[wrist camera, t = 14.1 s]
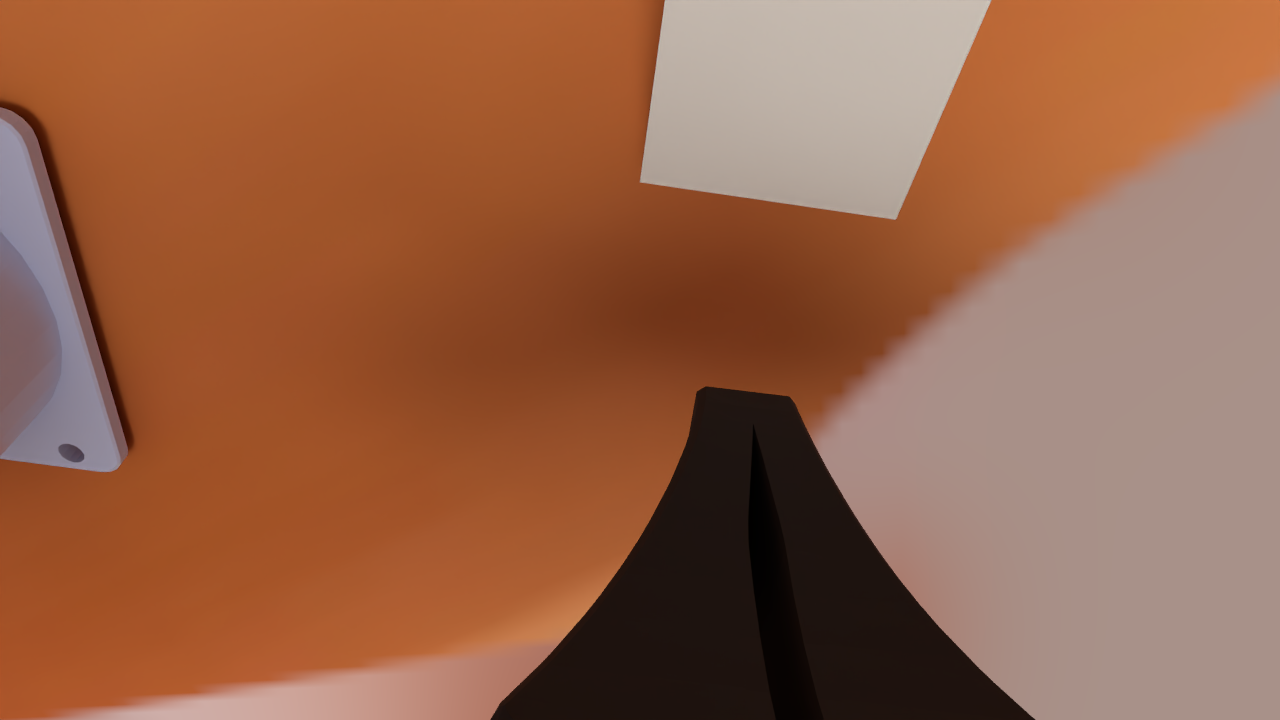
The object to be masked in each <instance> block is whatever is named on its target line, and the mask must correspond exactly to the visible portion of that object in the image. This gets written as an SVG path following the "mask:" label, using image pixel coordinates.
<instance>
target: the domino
mask: <svg viewBox="0 0 1280 720" xmlns="http://www.w3.org/2000/svg"><path fill="white" fill-rule="evenodd" d="M990 2H991V0H665V4H664V11H663V18H662V26H661V33H660V40H659V47H658V55H657V62H656V69H655V76H654V84H653V91H652V98H651V105H650V113H649V120H648V127H647V134H646V142H645V149H644V156H643V163H642V171H641V178H640V182H641V183H648V184H655V185H662V186H669V187H676V188H682V189H689V190H696V191H703V192H710V193H717V194H723V195H730V196H737V197H744V198H751V199H758V200H764V201H771V202H778V203H785V204H792V205H799V206H805V207H812V208H819V209H826V210H833V211H840V212H847V213H853V214H860V215H867V216H874V217H881V218H888V219H894V220H896V218H897V216H898V214H899V211H900V209H901V207H902V204H903V202H904V200H905V197H906V195H907V193H908V191H909V188H910V186H911V184H912V181H913V179H914V177H915V174H916V172H917V170H918V168H919V165H920V163H921V161H922V158H923V156H924V154H925V151H926V149H927V147H928V145H929V142H930V140H931V138H932V135H933V133H934V131H935V128H936V126H937V124H938V122H939V119H940V117H941V115H942V112H943V110H944V108H945V106H946V103H947V101H948V99H949V96H950V94H951V92H952V89H953V87H954V85H955V83H956V80H957V78H958V76H959V73H960V71H961V69H962V66H963V64H964V62H965V60H966V57H967V55H968V53H969V50H970V48H971V46H972V43H973V41H974V39H975V37H976V34H977V32H978V30H979V27H980V25H981V23H982V20H983V18H984V16H985V14H986V11H987V9H988V7H989V4H990Z"/></svg>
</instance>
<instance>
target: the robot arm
mask: <svg viewBox="0 0 1280 720" xmlns="http://www.w3.org/2000/svg"><path fill="white" fill-rule="evenodd" d="M127 455H128V447H127V444H126V440H125V437H124V433H123V430H122V427H121V423H120V420H119V416H118V413H117V410H116V406H115V403H114V399H113V396H112V392H111V389H110V386H109V382H108V379H107V375H106V372H105V369H104V365H103V362H102V358H101V355H100V351H99V348H98V345H97V341H96V338H95V334H94V331H93V327H92V324H91V321H90V317H89V314H88V310H87V307H86V304H85V300H84V297H83V293H82V290H81V286H80V283H79V280H78V276H77V273H76V269H75V266H74V263H73V259H72V256H71V252H70V249H69V245H68V242H67V239H66V235H65V232H64V228H63V225H62V222H61V218H60V215H59V211H58V208H57V204H56V201H55V198H54V194H53V191H52V187H51V184H50V180H49V177H48V174H47V170H46V167H45V163H44V160H43V157H42V153H41V150H40V146H39V143H38V139H37V137H36V135H35V133H34V131H33V129H32V128H31V127H30V126H29V124H28V123H27V122H26V121H25V120H24V119H23V118H22V117H20V116H19V115H17V114H15V113H14V112H12V111H11V110H8V109H4V108H1V107H0V459H6V460H14V461H21V462H29V463H37V464H44V465H52V466H60V467H67V468H75V469H83V470H91V471H98V472H111V471H114V470H116V469H118V467H119V466H120V465H121V463H122V462H123V461H124V459H125V458H126V457H127ZM491 720H1035V719H1034V718H1033V717H1031V716H1030V715H1029V714H1028V713H1027V712H1026V711H1025V710H1024V709H1023V708H1021V707H1020V706H1019V705H1018V704H1017V703H1016V702H1015V701H1014V700H1013V699H1011V698H1010V697H1009V696H1008V695H1007V694H1006V693H1005V692H1004V691H1003V690H1001V689H1000V688H999V687H998V686H997V685H996V684H995V683H993V681H992V680H991V679H990V678H989V677H988V676H987V675H985V674H984V673H983V672H982V671H981V670H980V669H979V668H978V667H977V666H976V665H975V664H974V663H973V662H972V661H971V659H969V657H967V655H966V654H965V653H964V652H963V651H962V650H961V649H960V648H959V647H958V646H957V645H956V644H955V643H954V642H953V641H952V640H951V639H950V638H949V637H948V636H947V635H946V634H945V633H944V632H943V631H942V629H941V628H939V626H938V625H937V624H936V623H935V622H934V621H933V620H932V618H931V617H930V616H929V615H928V614H927V612H926V611H925V610H924V609H923V608H922V607H921V606H920V605H919V603H918V602H917V601H916V599H915V598H914V597H913V596H912V595H911V593H910V592H909V591H908V590H907V588H906V587H905V586H904V585H903V583H902V582H901V581H900V580H899V578H898V577H897V576H896V574H895V573H894V572H893V570H892V569H891V568H890V566H889V565H888V563H887V562H886V561H885V559H884V558H883V557H882V555H881V554H880V553H879V551H878V550H877V548H876V547H875V545H874V544H873V542H872V541H871V539H870V538H869V536H868V535H867V533H866V532H865V530H864V529H863V527H862V526H861V524H860V523H859V521H858V520H857V518H856V517H855V515H854V514H853V512H852V510H851V509H850V507H849V505H848V504H847V502H846V500H845V499H844V497H843V495H842V493H841V492H840V490H839V489H838V487H837V485H836V483H835V482H834V480H833V478H832V477H831V475H830V473H829V471H828V469H827V468H826V466H825V464H824V462H823V460H822V458H821V456H820V455H819V453H818V451H817V449H816V447H815V445H814V443H813V441H812V439H811V437H810V435H809V433H808V431H807V429H806V427H805V425H804V423H803V421H802V418H801V416H800V414H799V412H798V410H797V407H796V405H795V403H794V402H793V401H792V399H791V398H790V397H788V396H780V395H772V394H764V393H755V392H747V391H739V390H731V389H722V388H714V387H704V388H702V389H701V390H699V391H697V393H696V399H695V404H694V410H693V416H692V421H691V427H690V432H689V437H688V440H687V443H686V446H685V448H684V451H683V453H682V456H681V458H680V460H679V463H678V465H677V467H676V470H675V472H674V475H673V477H672V479H671V481H670V483H669V485H668V487H667V489H666V491H665V493H664V495H663V497H662V499H661V501H660V503H659V505H658V506H657V508H656V510H655V512H654V514H653V516H652V518H651V520H650V521H649V523H648V525H647V527H646V528H645V530H644V532H643V533H642V535H641V537H640V538H639V540H638V541H637V543H636V545H635V546H634V548H633V549H632V551H631V552H630V554H629V555H628V557H627V558H626V560H625V561H624V563H623V564H622V566H621V567H620V569H619V570H618V572H617V573H616V574H615V576H614V577H613V578H612V580H611V581H610V583H609V584H608V585H607V587H606V588H605V589H604V591H603V592H602V593H601V595H600V596H599V597H598V599H597V600H596V601H595V603H594V604H593V605H592V606H591V608H590V609H589V610H588V611H587V613H586V614H585V615H584V616H583V617H582V618H581V620H580V621H579V622H578V623H577V624H576V625H575V626H574V628H573V629H572V630H571V631H570V632H569V633H568V634H567V636H566V637H565V638H564V639H563V640H562V641H561V642H560V644H559V645H558V646H557V647H556V648H555V649H554V650H553V652H552V653H551V654H550V655H549V656H548V657H547V658H546V659H545V660H544V661H543V662H542V663H541V664H540V665H539V666H538V667H537V668H536V669H535V670H534V671H533V672H532V673H531V674H530V675H529V676H528V677H527V678H526V679H525V680H524V681H523V682H522V683H520V685H518V686H517V687H516V688H515V689H514V690H513V691H512V692H511V693H510V694H509V695H508V696H507V697H506V698H505V699H504V700H503V701H502V702H501V703H500V704H499V706H498V708H497V710H496V711H495V713H494V715H493V716H492V718H491Z"/></svg>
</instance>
